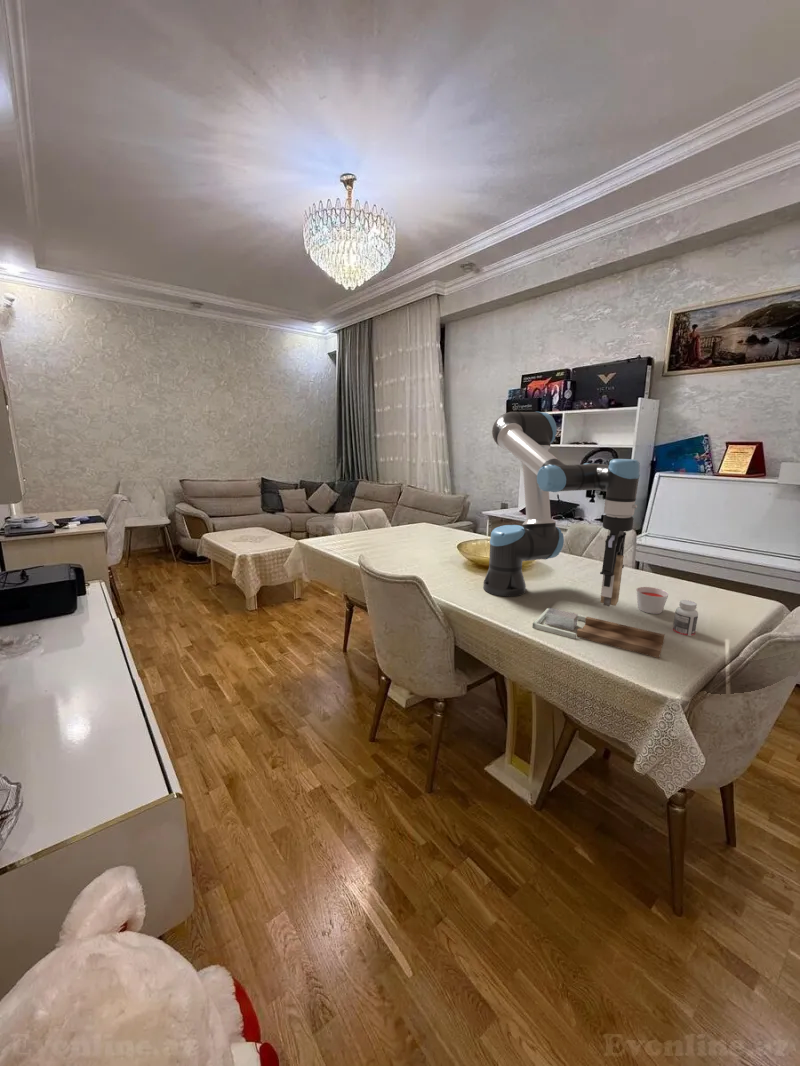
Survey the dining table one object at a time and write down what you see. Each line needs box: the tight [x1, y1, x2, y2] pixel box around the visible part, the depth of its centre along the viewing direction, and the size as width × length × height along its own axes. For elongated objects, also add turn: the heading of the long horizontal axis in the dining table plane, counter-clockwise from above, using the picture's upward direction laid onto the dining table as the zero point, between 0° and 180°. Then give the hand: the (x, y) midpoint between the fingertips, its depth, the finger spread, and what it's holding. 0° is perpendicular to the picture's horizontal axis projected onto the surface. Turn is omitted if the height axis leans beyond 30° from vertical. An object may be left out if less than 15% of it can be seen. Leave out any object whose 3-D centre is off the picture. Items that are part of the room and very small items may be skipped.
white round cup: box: [636, 586, 669, 615], centre depth 139 cm, size 9×9×6 cm
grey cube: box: [544, 607, 565, 628], centre depth 128 cm, size 4×4×4 cm
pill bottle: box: [672, 599, 699, 636], centre depth 122 cm, size 5×5×10 cm
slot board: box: [576, 616, 665, 659], centre depth 119 cm, size 20×11×3 cm, turn 54°
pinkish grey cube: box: [558, 610, 579, 632], centre depth 126 cm, size 4×4×4 cm
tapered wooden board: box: [599, 555, 625, 607], centre depth 124 cm, size 4×7×14 cm, turn 142°
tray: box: [531, 607, 587, 640], centre depth 128 cm, size 12×14×2 cm
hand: (609, 592), depth 125 cm, fingers closed on tapered wooden board, 7 cm apart
